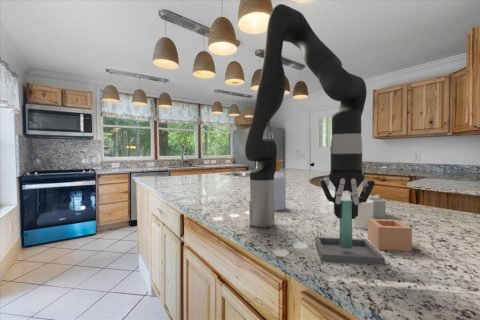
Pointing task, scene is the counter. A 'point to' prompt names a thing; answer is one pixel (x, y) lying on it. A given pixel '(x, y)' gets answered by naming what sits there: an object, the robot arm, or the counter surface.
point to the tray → (348, 251)
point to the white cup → (363, 214)
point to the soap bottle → (279, 189)
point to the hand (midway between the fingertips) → (345, 217)
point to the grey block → (377, 206)
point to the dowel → (346, 224)
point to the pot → (390, 234)
